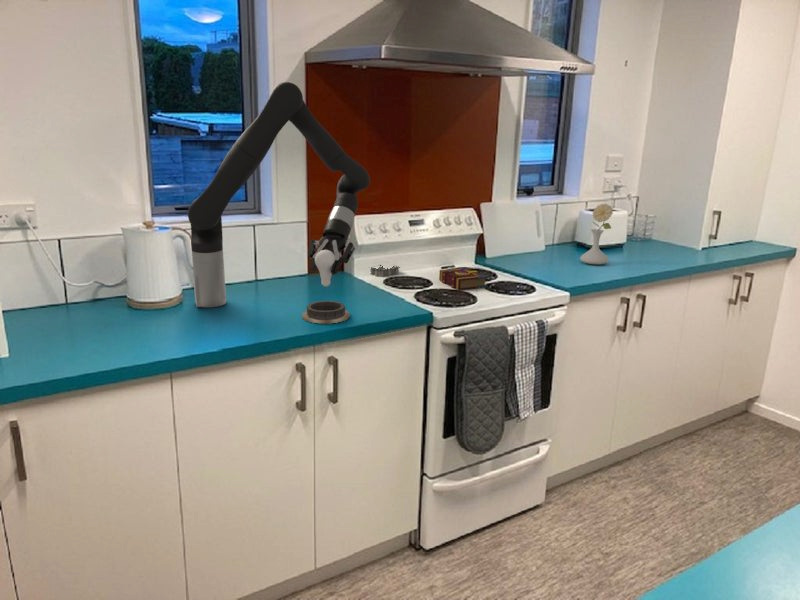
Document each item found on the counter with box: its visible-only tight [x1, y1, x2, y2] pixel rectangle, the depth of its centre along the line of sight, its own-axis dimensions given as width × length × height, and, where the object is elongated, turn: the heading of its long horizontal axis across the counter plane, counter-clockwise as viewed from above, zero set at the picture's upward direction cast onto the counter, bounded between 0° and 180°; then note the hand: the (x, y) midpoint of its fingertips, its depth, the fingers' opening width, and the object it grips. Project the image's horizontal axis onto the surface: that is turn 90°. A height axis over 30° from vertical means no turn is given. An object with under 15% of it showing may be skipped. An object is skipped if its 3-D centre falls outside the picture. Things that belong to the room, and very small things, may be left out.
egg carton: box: [369, 265, 401, 278], centre depth 241 cm, size 11×8×4 cm
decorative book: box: [438, 266, 488, 291], centre depth 229 cm, size 11×16×5 cm
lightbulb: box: [315, 250, 335, 287], centre depth 187 cm, size 6×6×11 cm
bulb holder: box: [302, 300, 351, 325], centre depth 190 cm, size 14×14×3 cm
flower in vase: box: [579, 203, 614, 265], centre depth 259 cm, size 13×11×25 cm
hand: (322, 272), depth 185 cm, fingers closed on lightbulb, 5 cm apart
